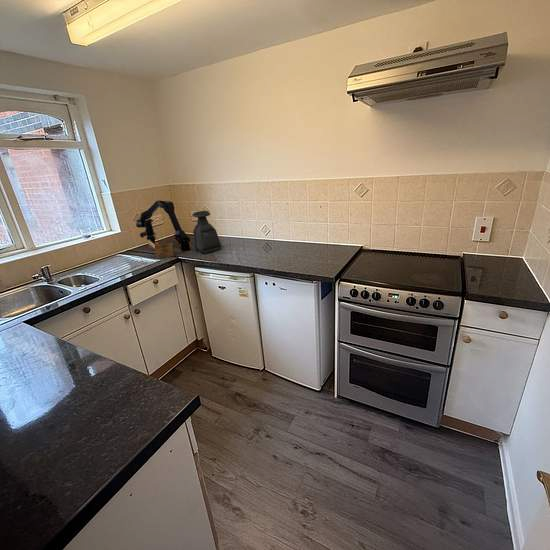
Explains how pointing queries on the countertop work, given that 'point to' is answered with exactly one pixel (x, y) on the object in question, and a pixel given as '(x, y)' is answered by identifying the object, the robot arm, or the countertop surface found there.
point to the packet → (155, 245)
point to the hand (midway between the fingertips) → (153, 245)
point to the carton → (164, 251)
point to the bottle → (205, 234)
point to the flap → (151, 243)
